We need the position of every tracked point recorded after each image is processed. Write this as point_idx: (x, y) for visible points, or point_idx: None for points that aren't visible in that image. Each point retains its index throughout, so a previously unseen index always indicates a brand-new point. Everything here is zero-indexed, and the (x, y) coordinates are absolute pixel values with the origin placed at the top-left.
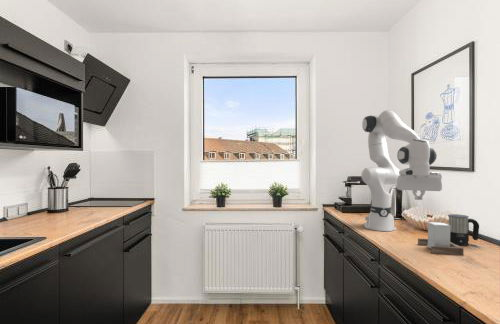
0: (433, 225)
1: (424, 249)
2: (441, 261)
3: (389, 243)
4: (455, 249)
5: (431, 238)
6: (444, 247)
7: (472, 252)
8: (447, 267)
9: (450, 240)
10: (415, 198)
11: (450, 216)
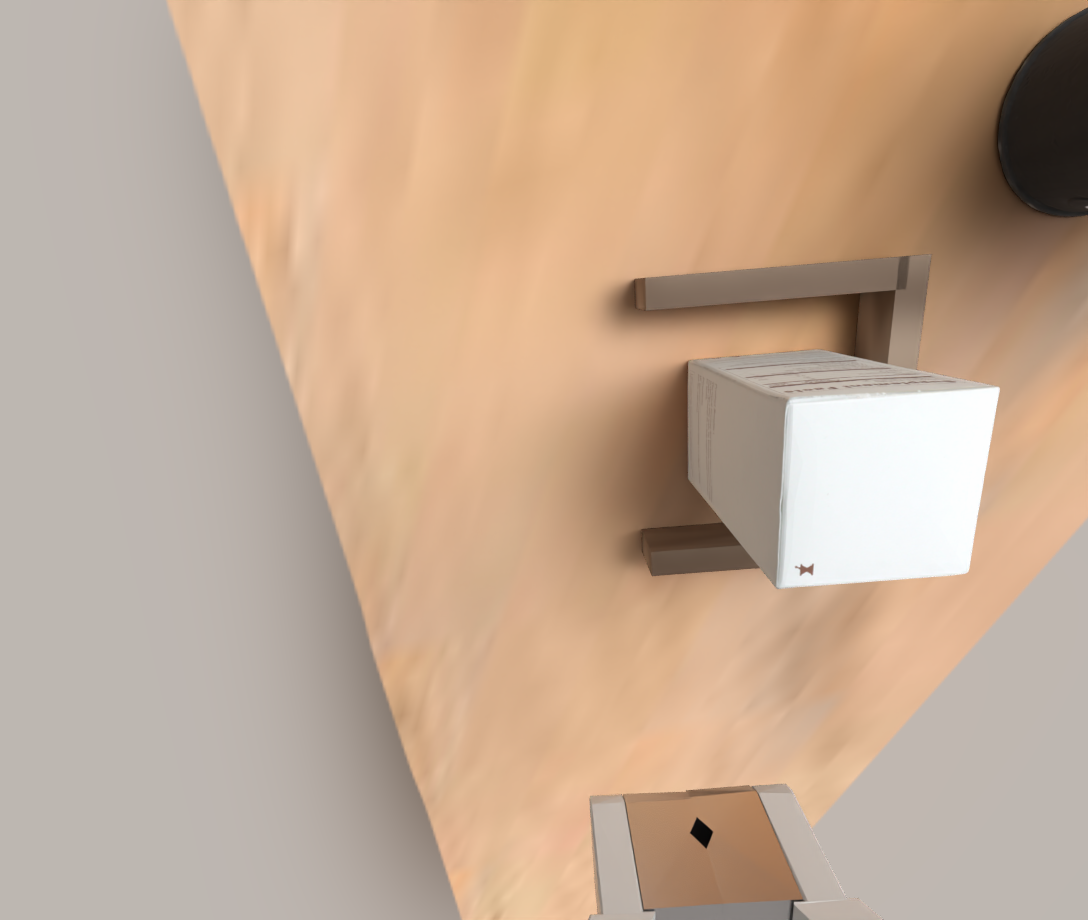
0: (772, 549)
1: (625, 451)
2: (622, 706)
3: (367, 320)
4: None
5: (714, 459)
6: (745, 565)
7: None
8: (607, 794)
9: (1027, 137)
10: (594, 869)
11: None
